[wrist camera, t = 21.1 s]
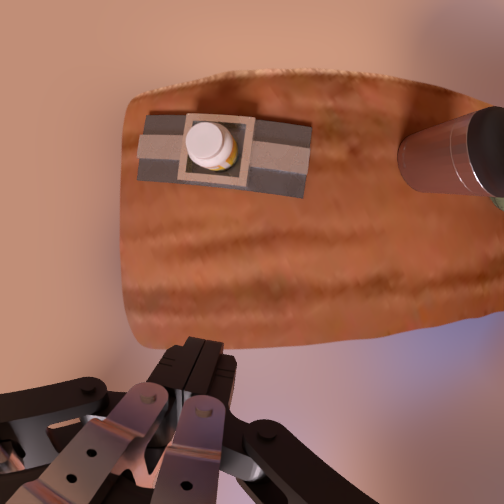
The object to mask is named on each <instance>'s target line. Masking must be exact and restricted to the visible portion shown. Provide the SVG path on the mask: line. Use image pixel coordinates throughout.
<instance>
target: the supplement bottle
mask: <svg viewBox="0 0 504 504" xmlns="http://www.w3.org/2000/svg"><path fill="white" fill-rule="evenodd" d="M186 147H187V152H188V154H189V156H190V158H191V159H192V161H193V162H195V163H196V164H198V165H200V166H202V167H204V168H207V169H209V170H212V171H218V172H219V171H225V170H227V169H229V168H230V167H232V166H233V165H234V164H235V162H236V160H237V158H238V153H239V149H238V145H237V143H236V141H235V139H234V138H233V137H232V135H231V133H230V132H229V131H228V130H227V128H225V127H224V126H223V125H221V124H218V123H214V122H201V123H198V124H196V125H194V126H193V127H192V128H191V129H190V130H189V131H188V133H187V136H186Z"/></svg>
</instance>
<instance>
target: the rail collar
mask: <svg viewBox="0 0 504 504" xmlns="http://www.w3.org/2000/svg"><path fill="white" fill-rule="evenodd" d="M201 122H214V123H218V124H221V125H223V126H224V127H225V128H227V130H228V131H229V132H230V133H231V135H232V137H233V138H234V139H235V141H236V143H237V145H238V149H239V153H238V158H237V160H236V162H235V164H234V165H233V166H232V167H230V168H229V169H227V170H225V171H219V172H218V171H212V170H209V169H207V168H204V167H202V166H200V165H198V164H196V163H195V162H193V161H192V159H191V158H190V156H189V154H188V152H187V147H186V136H187V133H188V131H189V130H190V129H191V128H192V127H193V126H194V125H196V124H198V123H201ZM311 132H312V127H306V126H300V125H294V124H287V123H280V122H272V121H264V120H256V118H255V117H245V116H233V115H218V114H195V113H187V115H146V120H145V126H144V132H143V135H140V138H139V144H138V151H137V158H138V159H139V167H138V176H137V180H139V181H154V182H168V183H180V184H191V185H201V186H211V187H221V188H229V189H238V190H246V191H254V192H262V193H269V194H276V195H283V196H290V197H297V198H303V195H304V188H305V181H306V175H307V172H308V164H309V156H310V141H311Z"/></svg>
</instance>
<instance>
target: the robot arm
mask: <svg viewBox="0 0 504 504" xmlns="http://www.w3.org/2000/svg"><path fill="white" fill-rule="evenodd" d="M398 165H399V169H400V172H401V175H402V176H403V178H404V180H405V181H406V182H407V184H408V185H409V186H411V187H412V188H413V189H415V190H417V191H420V192H427V193H445V194H461V195H475V196H489V197H500V198H504V108H502V107H497V106H493V107H488V108H485V109H482V110H479V111H476V112H473V113H470V114H467V115H464V116H461V117H458V118H456V119H453V120H450V121H447V122H444V123H441V124H439V125H436V126H433V127H430V128H428V129H425V130H422V131H419V132H417V133H414V134H412V135H409V136H408V137H406V138H405V139H404V140H403V142H402V143H401V145H400V147H399V151H398ZM223 348H224V343H222V342H217V341H211V340H205V339H200V338H195V337H190V336H189V337H188V339H187V340H186V342H185V344H184V346H178V345H174V346H173V347H171V348H169V349H167V350H166V352H165V353H164V355H163V357H162V359H161V360H160V361H159V364H157V366H156V367H155V369H154V370H153V372H152V373H151V375H150V377H149V378H148V380H147V381H146V382H143V383H139V384H136V385H134V386H133V387H132V388H131V389H130V390H129V391H128V392H126V393H125V392H112V391H107V387H106V385H105V383H104V382H103V381H101V380H100V379H98V378H94V377H82V378H78V379H74V380H70V381H65V382H61V383H57V384H52V385H47V386H43V387H38V388H33V389H27V390H23V391H17V392H11V393H5V394H0V504H216V499H217V488H218V478H219V470H221V471H223V472H225V473H227V474H230V475H232V476H234V477H236V480H237V482H238V483H239V485H241V487H242V488H243V489H244V490H245V492H246V493H247V494H248V495H249V496H250V497H251V499H252V500H253V501H254V502H255V503H256V504H379V503H378V502H376V501H375V500H373V499H372V498H370V497H369V496H368V495H366V494H365V493H363V492H362V491H360V490H359V489H358V488H357V487H355V486H354V485H353V484H351V483H350V482H349V481H347V480H346V479H345V478H344V477H342V476H341V475H340V474H338V473H337V472H336V471H335V470H333V469H332V468H331V467H330V466H329V465H327V464H326V463H325V462H324V461H323V460H321V459H320V458H319V457H318V456H317V455H315V454H314V453H313V452H312V451H311V450H310V449H309V448H307V447H306V446H305V445H304V444H303V443H302V442H301V441H299V440H298V439H297V438H296V437H295V436H294V435H293V434H292V433H291V432H290V431H289V430H287V429H286V428H285V427H284V426H283V425H281V424H280V423H278V422H275V421H272V420H266V419H263V420H257V421H253V422H251V423H250V424H249V423H246V422H244V421H241V420H239V419H238V418H236V417H235V416H234V415H233V414H232V413H231V412H230V405H231V400H232V395H233V390H234V383H235V375H236V368H237V362H236V360H235V358H234V356H230V355H225V354H223ZM75 418H79V419H80V421H81V422H79V423H75V424H71V425H68V426H64V427H60V428H56V429H51V428H48V426H49V425H51V424H55V423H59V422H63V421H67V420H71V419H75ZM174 433H175V435H174ZM173 435H174V439H173V442H172V438H173ZM159 469H160V471H159ZM158 471H159V475H158V478H157V482H156V485H155V488H154V489H153V488H152V487H153V481H154V479H155V477H156V475H157V473H158Z"/></svg>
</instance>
